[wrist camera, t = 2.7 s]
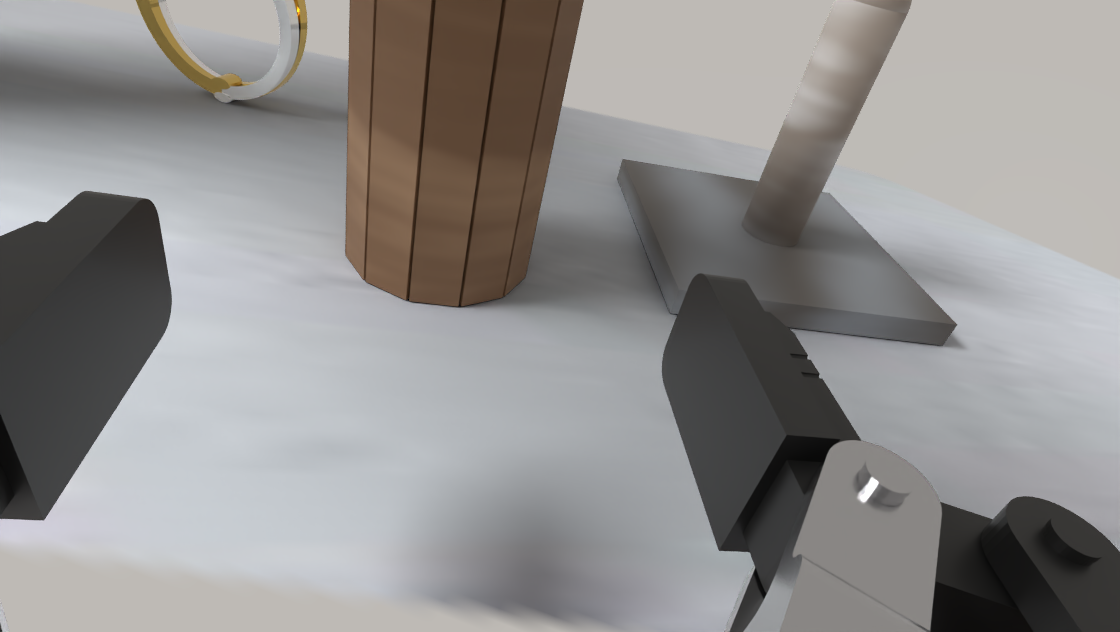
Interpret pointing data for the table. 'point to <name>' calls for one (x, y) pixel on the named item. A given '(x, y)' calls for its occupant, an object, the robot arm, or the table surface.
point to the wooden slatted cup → (451, 140)
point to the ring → (230, 85)
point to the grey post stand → (793, 206)
